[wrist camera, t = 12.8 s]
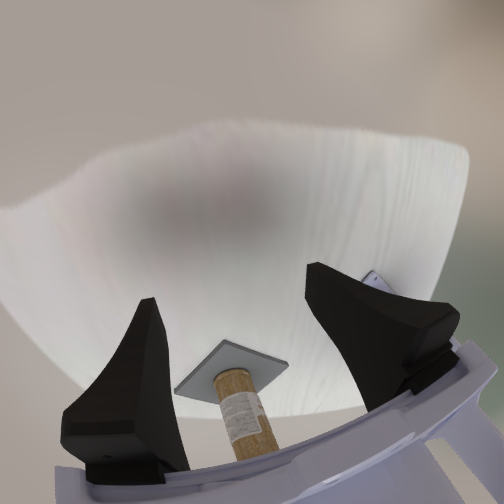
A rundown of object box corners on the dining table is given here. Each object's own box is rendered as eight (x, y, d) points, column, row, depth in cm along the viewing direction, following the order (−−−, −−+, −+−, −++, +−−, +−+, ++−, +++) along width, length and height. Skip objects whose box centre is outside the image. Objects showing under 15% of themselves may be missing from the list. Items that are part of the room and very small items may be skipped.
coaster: (287, 362, 32) (289, 366, 31) (237, 404, 34) (238, 408, 33) (223, 339, 27) (225, 343, 26) (173, 389, 29) (174, 393, 28)
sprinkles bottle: (252, 383, 31) (292, 478, 20) (216, 393, 30) (248, 492, 19) (247, 362, 29) (293, 470, 17) (207, 373, 28) (241, 485, 16)
